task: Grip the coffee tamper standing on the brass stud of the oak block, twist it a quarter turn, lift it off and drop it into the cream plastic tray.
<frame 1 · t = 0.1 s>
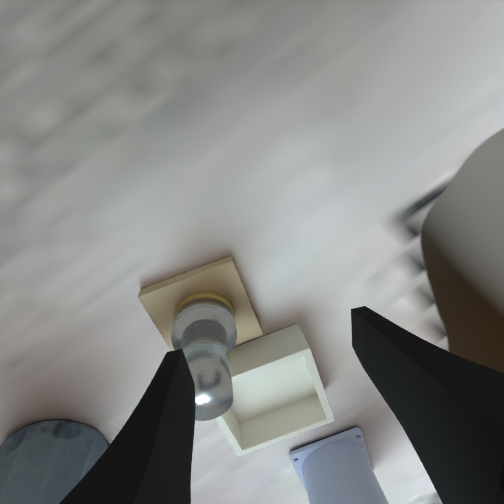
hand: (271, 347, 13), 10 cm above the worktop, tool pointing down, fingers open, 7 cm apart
stud block: (204, 309, 23), on the worktop
moka pot: (58, 452, 27), on the worktop
tray: (264, 377, 27), on the worktop
coffee tamper: (204, 323, 22), point 2 cm above the worktop, touching stud block
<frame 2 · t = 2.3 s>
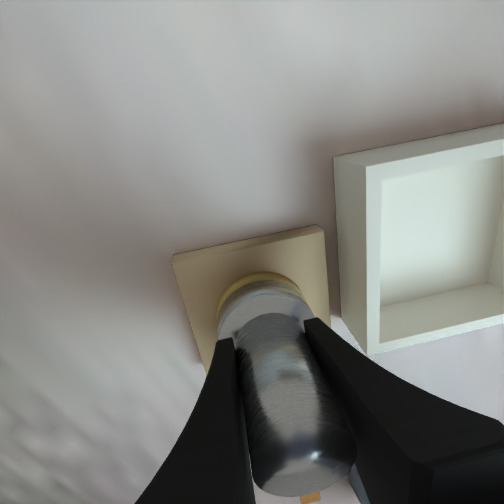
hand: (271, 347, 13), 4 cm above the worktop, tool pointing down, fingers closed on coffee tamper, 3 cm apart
stud block: (257, 299, 16), on the worktop
moka pot: (401, 458, 24), on the worktop
tray: (421, 229, 16), on the worktop
coffee tamper: (263, 320, 14), point 2 cm above the worktop, touching gripper, stud block
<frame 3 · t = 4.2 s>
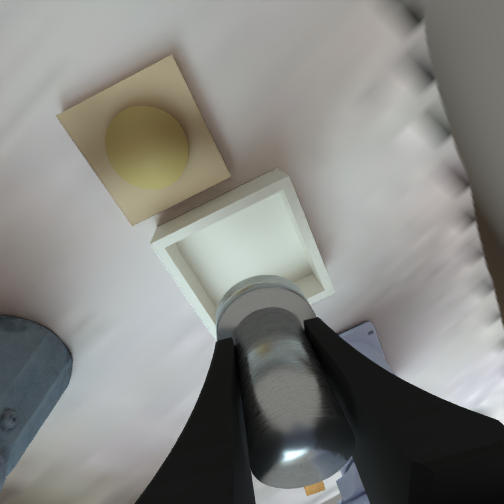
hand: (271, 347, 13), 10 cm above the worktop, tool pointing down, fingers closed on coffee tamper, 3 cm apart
stud block: (152, 146, 18), on the worktop
moka pot: (11, 363, 23), on the worktop
tray: (244, 251, 22), on the worktop
coffee tamper: (262, 315, 14), point 8 cm above the worktop, touching gripper
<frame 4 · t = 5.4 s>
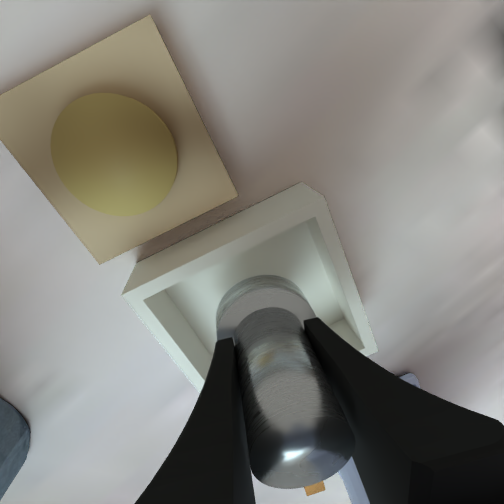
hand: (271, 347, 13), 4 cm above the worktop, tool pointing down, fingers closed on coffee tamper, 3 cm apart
stud block: (127, 154, 13), on the worktop
tray: (255, 292, 17), on the worktop
coffee tamper: (262, 315, 14), point 2 cm above the worktop, touching gripper
when the fingers open (4 cm above the worktop, at t = 6.1 s): coffee tamper drops 2 cm, resting on tray.
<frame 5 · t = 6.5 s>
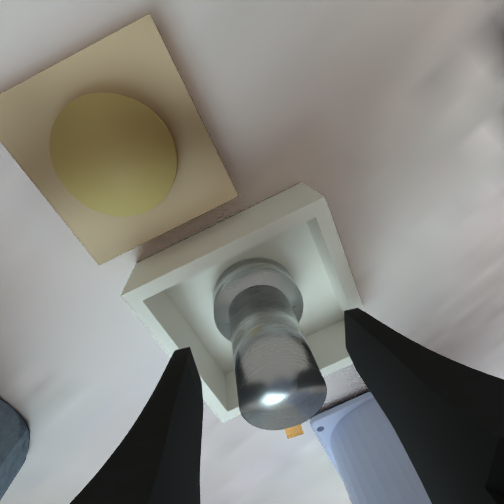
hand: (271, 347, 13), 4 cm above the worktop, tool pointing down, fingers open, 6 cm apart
stud block: (126, 154, 13), on the worktop
tray: (255, 292, 16), on the worktop
coffee tamper: (254, 295, 16), point 1 cm above the worktop, touching tray
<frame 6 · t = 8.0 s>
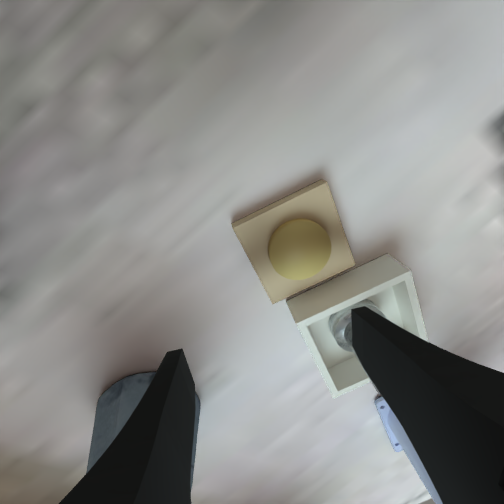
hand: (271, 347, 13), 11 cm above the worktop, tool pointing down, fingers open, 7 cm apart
stud block: (294, 242, 23), on the worktop
moka pot: (149, 408, 27), on the worktop
tray: (351, 317, 26), on the worktop
coffee tamper: (353, 319, 26), point 1 cm above the worktop, touching tray
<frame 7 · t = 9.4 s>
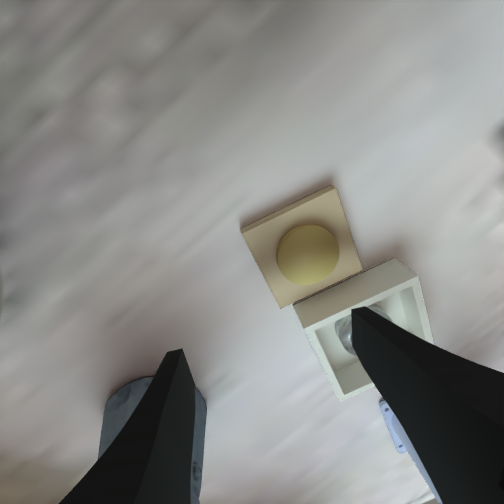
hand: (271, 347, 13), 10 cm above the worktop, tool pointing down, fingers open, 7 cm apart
stud block: (301, 247, 23), on the worktop
moka pot: (156, 412, 28), on the worktop
tray: (357, 321, 26), on the worktop
coffee tamper: (359, 323, 26), point 1 cm above the worktop, touching tray
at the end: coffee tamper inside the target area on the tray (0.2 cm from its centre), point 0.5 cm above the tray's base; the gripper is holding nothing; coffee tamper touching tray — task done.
